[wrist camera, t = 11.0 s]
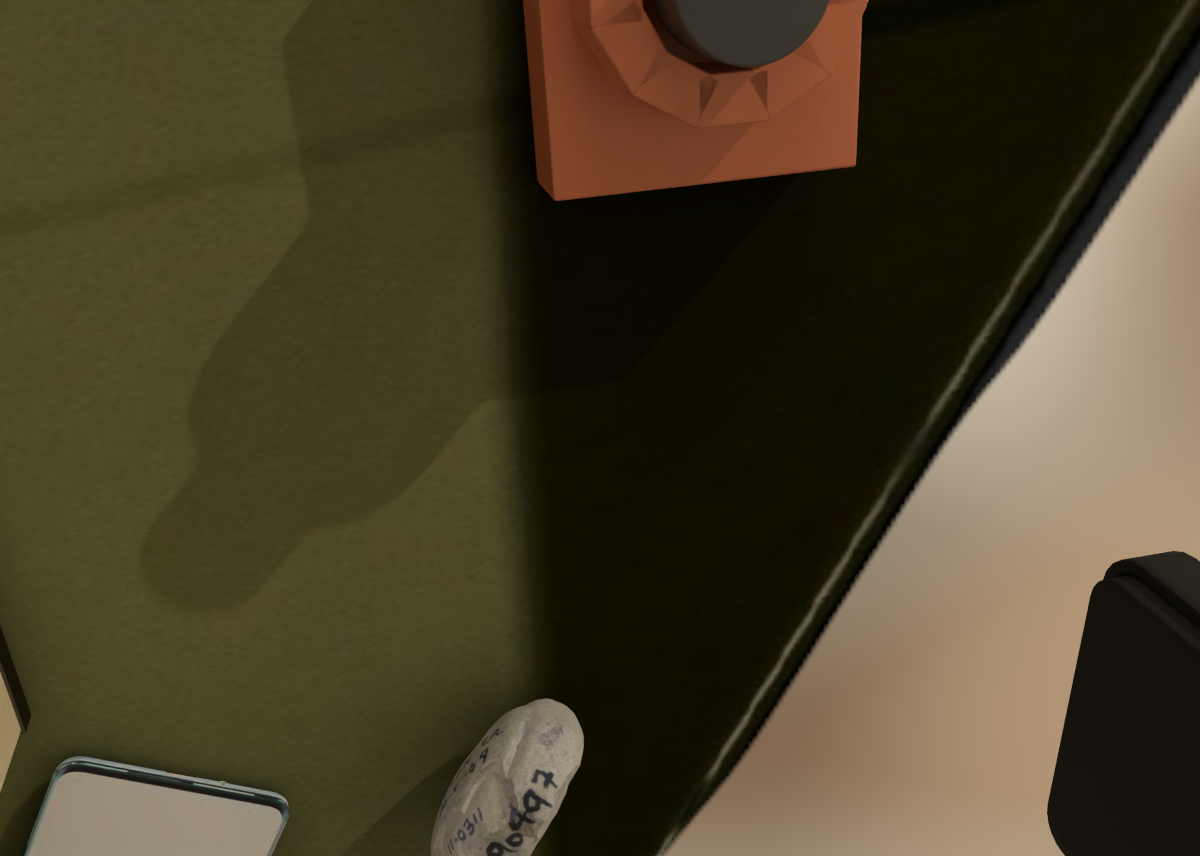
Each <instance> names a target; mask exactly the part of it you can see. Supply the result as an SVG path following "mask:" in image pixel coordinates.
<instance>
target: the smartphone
mask: <svg viewBox="0 0 1200 856" xmlns="http://www.w3.org/2000/svg"><path fill="white" fill-rule="evenodd" d="M288 818H289V807H288V802H287V800H286V799H285V798H284V797H283V796H281V795H280V794H278V793H275V792H271V791H266V790H260V789H255V788H250V787H244V786H239V785H234V784H229V783H226V782H224V781H220V782H218V781H213V780H208V779H202V778H197V777H188V776H183V775H178V774H172V773H167V772H165V771H160V770H155V769H149V768H144V767H139V766H133V765H128V764H123V763H117V762H112V761H107V760H101V759H96V758H91V757H84V756H77V757H72V758H68V759H66V760H65V761H63V762H62V763H61V764H60V765H59V766H58V767H57V768H56V769H55V772H54V774H53V777H52V779H51V782H50V785H49V787H48V790H47V793H46V795H45V798H44V800H43V803H42V806H41V808H40V811H39V814H38V816H37V819H36V822H35V824H34V827H33V830H32V832H31V835H30V838H29V840H28V843H27V846H26V848H25V851H24V854H23V856H271V855H272V853H273V851H274V848H275V846H276V844H277V842H278V840H279V837H280V835H281V833H282V831H283V829H284V827H285V824H286V822H287V820H288Z"/></svg>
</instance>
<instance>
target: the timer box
mask: <svg viewBox="0 0 1200 856" xmlns="http://www.w3.org/2000/svg"><path fill="white" fill-rule="evenodd" d="M867 3H868V0H830V1H829V4H828V6H827V9H826V11H825V13H824V15H823V17H822V19H821V21H820V23H819V24H818V26H817V27H816V29H815V30H814V31H813V33H812V34H811V35H810V37H809V38H808V39H807V40H806V41H805V42H804V43H803V44H802V45H801V46H800V47H798V48H797V49H796V50H795V51H794V52H792V53H791V54H789V55H787V56H786V57H784V58H782V59H780V60H778V61H776V62H773V63H770V64H767V65H763V66H757V67H737V66H732V65H728V64H724V63H721V62H719V61H716V60H713V59H710V58H708V57H705V56H702V55H699V54H697V53H695V52H693V51H690V50H689V49H687V48H686V47H684V46H683V45H681V44H680V43H679V42H678V41H677V40H675V39H674V38H673V36H672V35H671V34H670V33H669V32H668V31H667V29H666V28H665V26H664V25H663V23H662V22H661V20H660V18H659V16H658V14H657V11H656V8H655V6H654V3H653V0H523V7H524V19H525V32H526V44H527V56H528V69H529V81H530V94H531V106H532V118H533V131H534V143H535V155H536V168H537V180H538V182H539V184H540V185H541V186H542V187H543V188H544V189H545V190H546V192H547V193H548V194H549V195H550V196H551V197H552V198H553V199H554V200H555V201H562V200H570V199H579V198H588V197H596V196H605V195H613V194H622V193H631V192H639V191H648V190H656V189H665V188H673V187H682V186H691V185H699V184H708V183H716V182H725V181H734V180H742V179H751V178H759V177H768V176H777V175H785V174H794V173H802V172H811V171H820V170H828V169H837V168H845V167H853V166H855V165H856V149H857V125H858V101H859V77H860V53H861V29H862V14H863V12H864V10H865V8H866V6H867V5H866V4H867Z"/></svg>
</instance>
